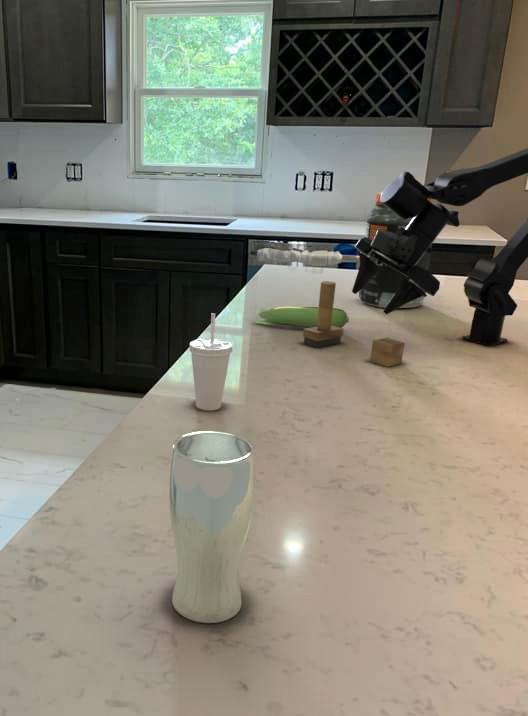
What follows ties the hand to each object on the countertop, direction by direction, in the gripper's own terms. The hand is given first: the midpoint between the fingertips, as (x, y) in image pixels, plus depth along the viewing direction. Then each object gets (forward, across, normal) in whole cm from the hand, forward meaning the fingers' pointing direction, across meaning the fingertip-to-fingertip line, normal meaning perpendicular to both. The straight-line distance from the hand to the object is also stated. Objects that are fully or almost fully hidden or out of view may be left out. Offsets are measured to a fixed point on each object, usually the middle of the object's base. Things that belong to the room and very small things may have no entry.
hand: (368, 302), depth 143 cm
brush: (+11, -1, -2) cm, 12 cm away
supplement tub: (-4, -23, +36) cm, 42 cm away
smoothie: (+28, +18, -39) cm, 51 cm away
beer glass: (+33, +59, -68) cm, 96 cm away
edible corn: (+12, -13, +3) cm, 18 cm away
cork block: (+7, +14, -3) cm, 16 cm away
